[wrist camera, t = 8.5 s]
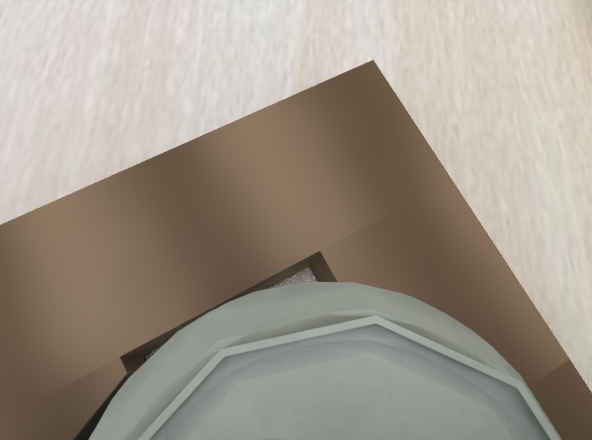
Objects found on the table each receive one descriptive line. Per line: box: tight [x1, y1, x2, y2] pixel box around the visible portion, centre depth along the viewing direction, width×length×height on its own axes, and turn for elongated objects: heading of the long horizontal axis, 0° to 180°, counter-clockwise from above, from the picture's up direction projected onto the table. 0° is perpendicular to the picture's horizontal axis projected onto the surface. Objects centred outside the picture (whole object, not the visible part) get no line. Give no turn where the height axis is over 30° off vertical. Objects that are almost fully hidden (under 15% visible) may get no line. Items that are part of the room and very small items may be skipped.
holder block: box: [0, 60, 592, 440], centre depth 15 cm, size 18×18×3 cm
